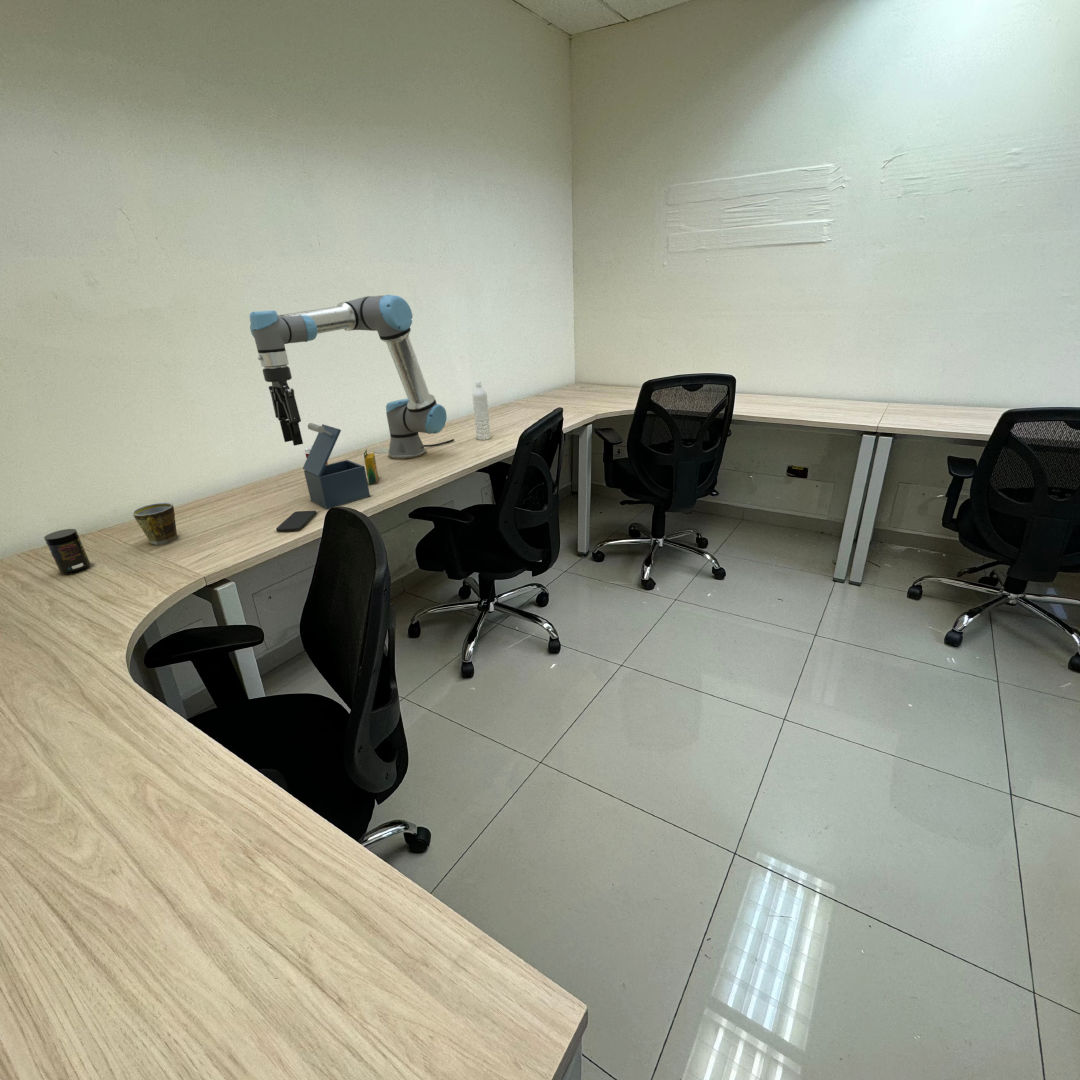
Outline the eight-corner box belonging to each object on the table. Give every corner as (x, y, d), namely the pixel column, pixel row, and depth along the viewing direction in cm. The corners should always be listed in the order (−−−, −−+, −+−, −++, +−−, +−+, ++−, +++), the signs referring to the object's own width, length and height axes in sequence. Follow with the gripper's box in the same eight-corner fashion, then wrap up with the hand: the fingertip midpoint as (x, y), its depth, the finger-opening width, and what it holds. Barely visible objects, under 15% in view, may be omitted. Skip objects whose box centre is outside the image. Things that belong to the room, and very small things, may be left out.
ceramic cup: (148, 537, 166) (136, 506, 162) (186, 530, 169) (175, 500, 165) (139, 554, 155) (126, 521, 151) (179, 546, 158) (168, 514, 154)
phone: (317, 510, 178) (299, 528, 164) (318, 512, 178) (299, 530, 164) (294, 511, 178) (274, 529, 164) (295, 513, 178) (275, 532, 164)
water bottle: (491, 439, 254) (486, 383, 243) (476, 440, 253) (471, 384, 243) (490, 435, 262) (485, 381, 251) (476, 436, 261) (471, 382, 251)
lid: (324, 425, 185) (308, 417, 181) (341, 430, 177) (324, 421, 172) (304, 469, 185) (287, 462, 180) (320, 476, 176) (303, 469, 172)
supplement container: (84, 561, 152) (69, 527, 148) (96, 566, 149) (81, 531, 145) (55, 572, 147) (38, 536, 143) (67, 577, 144) (50, 541, 139)
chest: (353, 488, 199) (347, 459, 194) (370, 496, 190) (364, 466, 186) (310, 500, 189) (303, 470, 184) (326, 509, 181) (319, 477, 176)
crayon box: (376, 483, 202) (371, 453, 197) (368, 484, 202) (362, 453, 197) (378, 477, 209) (373, 447, 204) (370, 478, 209) (365, 448, 204)
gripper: (251, 366, 168) (270, 440, 178) (275, 370, 155) (294, 450, 165) (276, 363, 173) (293, 435, 183) (301, 367, 160) (318, 444, 169)
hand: (293, 442), depth 174 cm, fingers open, 7 cm apart
